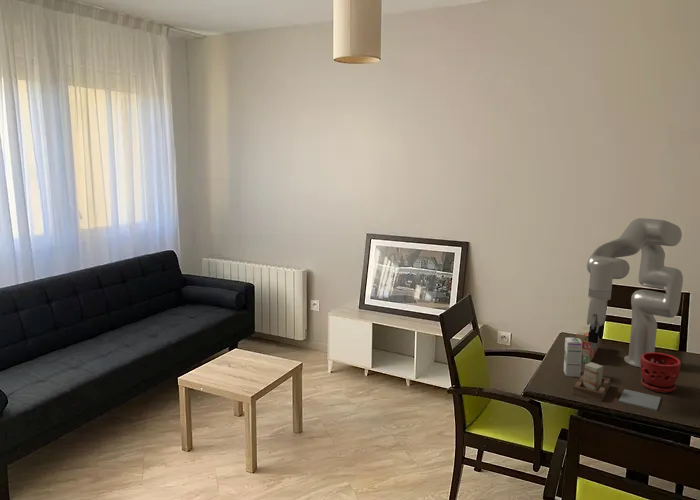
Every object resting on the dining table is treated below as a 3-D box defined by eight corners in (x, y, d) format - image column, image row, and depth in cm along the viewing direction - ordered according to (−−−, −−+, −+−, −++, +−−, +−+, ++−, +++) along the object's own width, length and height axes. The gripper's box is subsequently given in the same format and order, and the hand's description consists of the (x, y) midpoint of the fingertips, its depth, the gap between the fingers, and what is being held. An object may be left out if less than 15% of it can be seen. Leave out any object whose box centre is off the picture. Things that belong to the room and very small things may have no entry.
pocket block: (582, 380, 213) (583, 372, 213) (609, 386, 208) (610, 378, 207) (572, 394, 200) (573, 386, 200) (601, 401, 195) (602, 393, 194)
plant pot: (631, 380, 213) (634, 351, 211) (665, 381, 213) (669, 352, 211) (648, 395, 200) (652, 364, 198) (685, 395, 200) (688, 364, 198)
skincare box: (581, 389, 205) (583, 364, 203) (588, 386, 207) (590, 361, 206) (595, 394, 201) (597, 368, 199) (601, 391, 203) (603, 365, 202)
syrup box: (580, 377, 216) (583, 342, 214) (565, 376, 217) (567, 341, 215) (577, 372, 222) (580, 337, 219) (562, 370, 223) (565, 336, 220)
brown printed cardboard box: (583, 346, 252) (585, 320, 250) (598, 349, 249) (600, 323, 247) (574, 360, 235) (576, 333, 232) (589, 363, 231) (592, 335, 229)
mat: (624, 390, 204) (624, 389, 204) (660, 398, 197) (660, 397, 197) (618, 402, 194) (618, 400, 194) (656, 411, 188) (657, 409, 188)
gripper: (593, 288, 207) (589, 331, 210) (583, 296, 193) (579, 343, 196) (615, 291, 203) (611, 335, 205) (606, 300, 189) (601, 347, 191)
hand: (595, 339), depth 201 cm, fingers open, 9 cm apart
